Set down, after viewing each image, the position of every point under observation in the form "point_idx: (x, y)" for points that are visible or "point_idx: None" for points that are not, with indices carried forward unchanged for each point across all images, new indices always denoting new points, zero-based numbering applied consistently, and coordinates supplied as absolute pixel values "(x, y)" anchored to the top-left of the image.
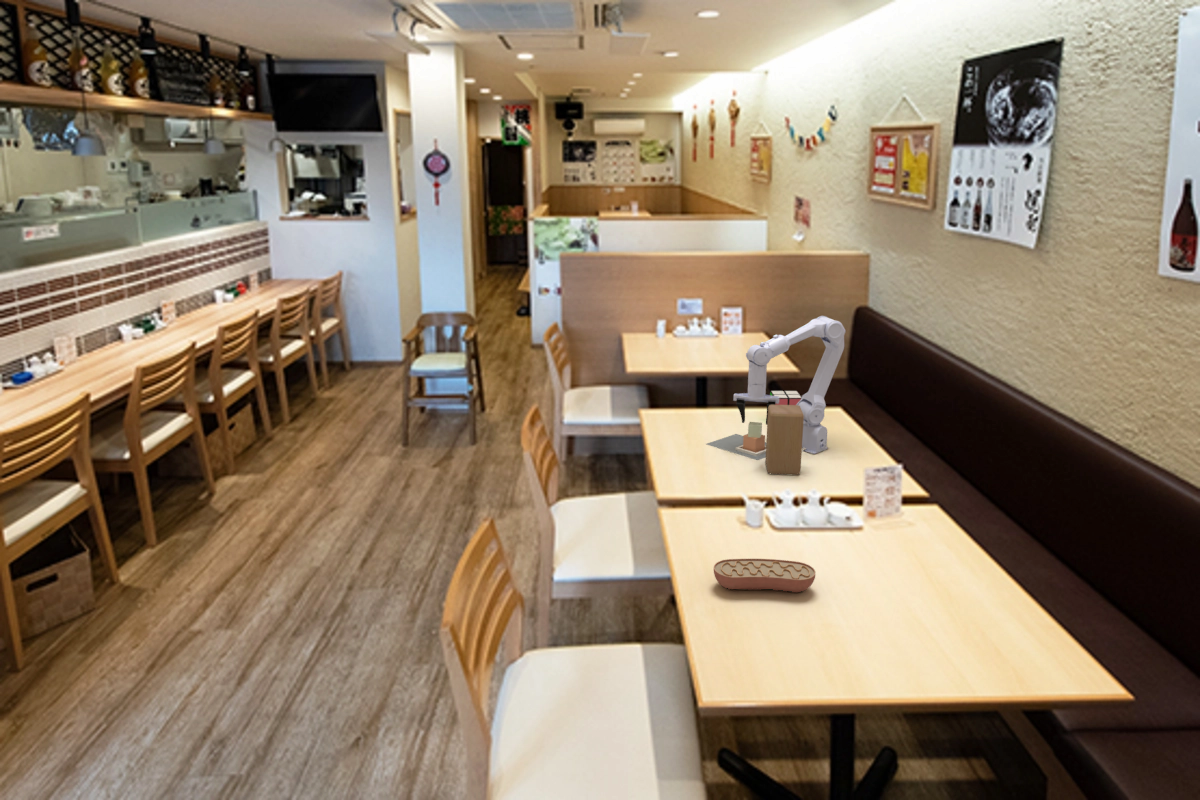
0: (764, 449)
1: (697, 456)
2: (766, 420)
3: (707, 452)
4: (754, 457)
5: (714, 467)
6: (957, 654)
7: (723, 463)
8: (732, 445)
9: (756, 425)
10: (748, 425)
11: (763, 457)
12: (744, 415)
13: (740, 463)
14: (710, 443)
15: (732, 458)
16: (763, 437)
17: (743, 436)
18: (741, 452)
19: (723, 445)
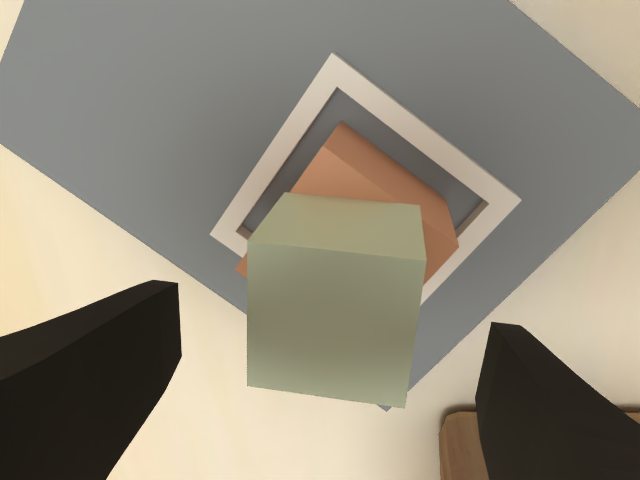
0: (445, 199)
1: (12, 318)
2: (491, 462)
3: (44, 239)
4: None
5: (150, 467)
6: None
7: (184, 412)
8: (176, 126)
9: (347, 387)
10: (248, 384)
11: (429, 359)
12: (130, 367)
13: (281, 405)
14: (4, 106)
15: (221, 329)
16: (438, 262)
17: (237, 266)
18: None
19: (110, 137)
